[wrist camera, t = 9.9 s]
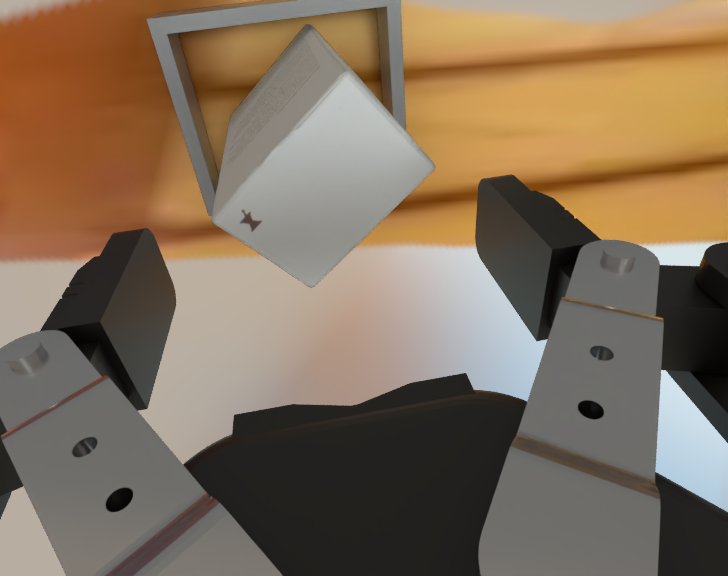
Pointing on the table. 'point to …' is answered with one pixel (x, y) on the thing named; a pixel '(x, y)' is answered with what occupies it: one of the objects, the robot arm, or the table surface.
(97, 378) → the robot arm
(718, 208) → the table surface
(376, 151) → the skincare box
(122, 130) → the table surface
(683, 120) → the table surface
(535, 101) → the table surface
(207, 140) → the frame
